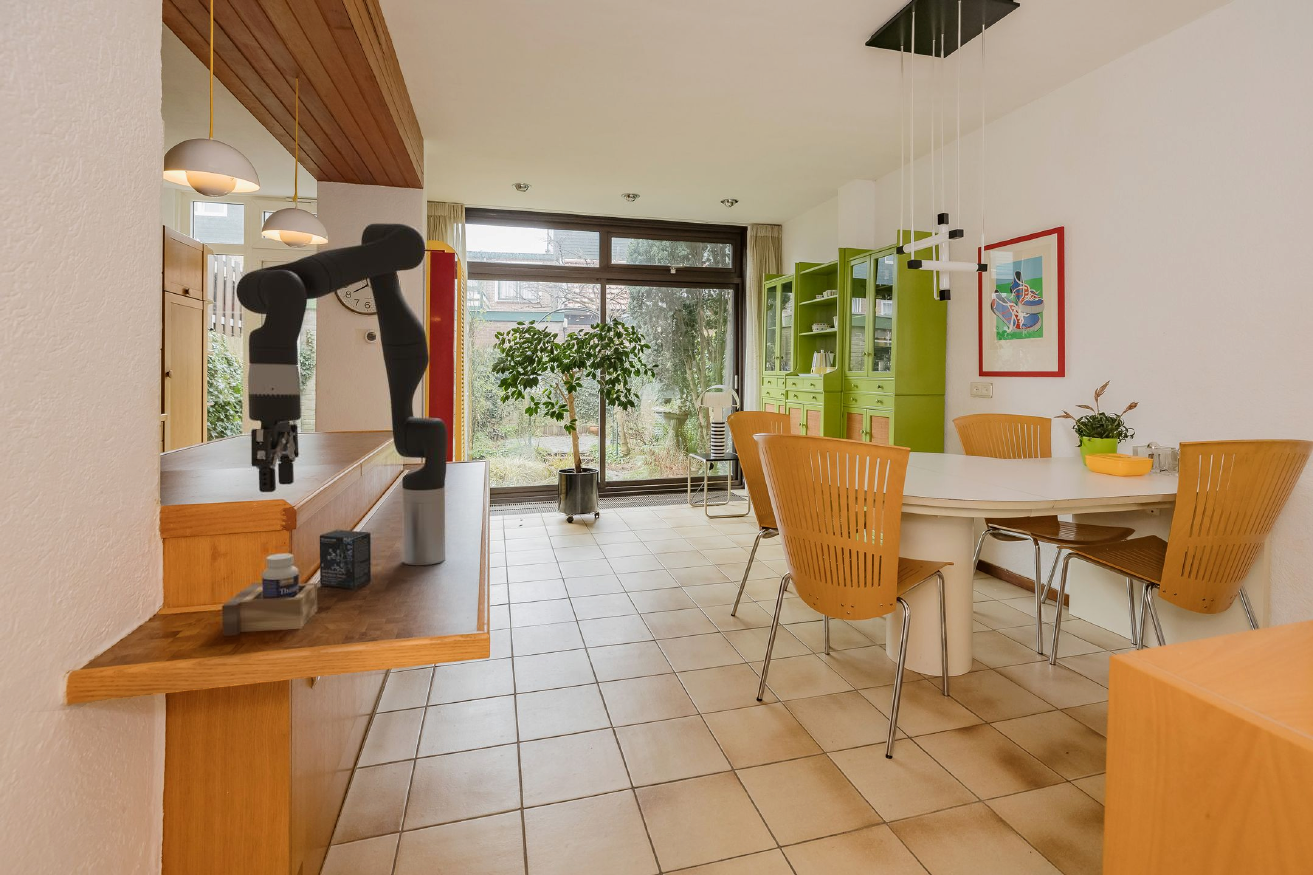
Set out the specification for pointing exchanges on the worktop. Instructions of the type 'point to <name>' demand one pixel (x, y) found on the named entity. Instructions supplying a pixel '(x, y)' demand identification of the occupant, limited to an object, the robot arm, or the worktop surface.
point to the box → (345, 559)
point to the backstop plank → (235, 611)
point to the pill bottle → (280, 577)
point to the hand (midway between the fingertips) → (277, 487)
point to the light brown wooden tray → (278, 610)
